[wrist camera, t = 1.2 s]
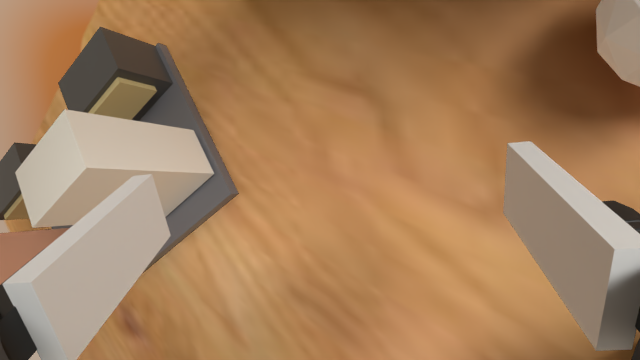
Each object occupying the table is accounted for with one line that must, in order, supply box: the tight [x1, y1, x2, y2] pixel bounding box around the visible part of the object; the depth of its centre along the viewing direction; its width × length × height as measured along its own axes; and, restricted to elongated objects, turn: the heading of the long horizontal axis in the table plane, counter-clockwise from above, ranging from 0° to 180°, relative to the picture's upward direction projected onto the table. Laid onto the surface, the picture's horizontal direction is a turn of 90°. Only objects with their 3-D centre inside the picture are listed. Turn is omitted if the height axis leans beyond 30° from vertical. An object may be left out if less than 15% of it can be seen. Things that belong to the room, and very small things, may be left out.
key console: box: [0, 27, 239, 272], centre depth 44 cm, size 18×27×7 cm
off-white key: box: [15, 109, 214, 228], centre depth 36 cm, size 5×8×12 cm, turn 123°
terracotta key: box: [0, 228, 69, 285], centre depth 43 cm, size 5×8×12 cm, turn 123°
